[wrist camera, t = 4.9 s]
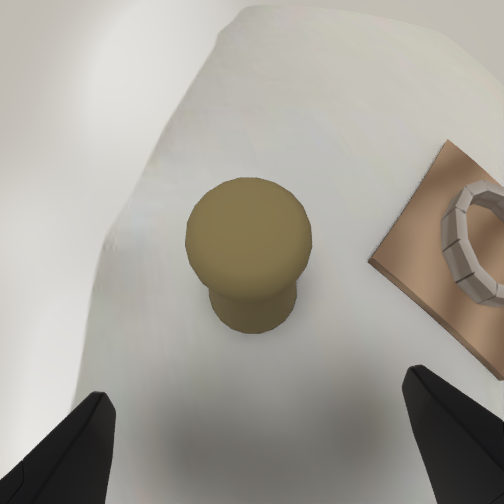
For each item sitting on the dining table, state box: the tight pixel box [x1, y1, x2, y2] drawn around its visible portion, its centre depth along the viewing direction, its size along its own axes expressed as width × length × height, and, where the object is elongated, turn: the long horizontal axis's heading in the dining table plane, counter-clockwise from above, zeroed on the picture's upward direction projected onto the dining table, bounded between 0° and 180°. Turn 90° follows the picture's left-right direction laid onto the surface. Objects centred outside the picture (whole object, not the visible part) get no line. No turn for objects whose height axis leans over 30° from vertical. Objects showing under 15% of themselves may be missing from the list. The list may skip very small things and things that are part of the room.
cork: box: [185, 178, 312, 334], centre depth 17 cm, size 6×6×11 cm
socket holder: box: [368, 140, 504, 381], centre depth 21 cm, size 16×16×4 cm
